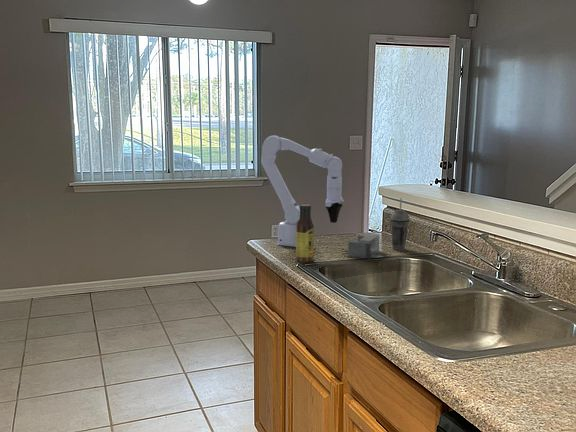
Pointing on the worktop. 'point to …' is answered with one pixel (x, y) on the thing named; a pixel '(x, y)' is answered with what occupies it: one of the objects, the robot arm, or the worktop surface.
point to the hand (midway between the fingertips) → (333, 222)
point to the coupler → (364, 246)
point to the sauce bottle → (305, 235)
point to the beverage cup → (399, 228)
